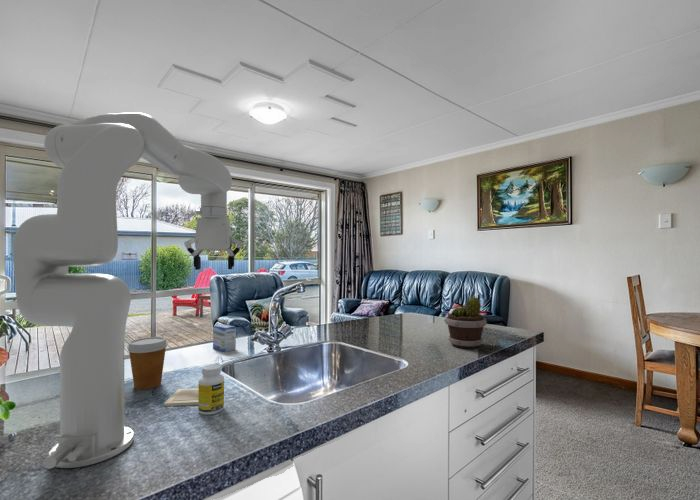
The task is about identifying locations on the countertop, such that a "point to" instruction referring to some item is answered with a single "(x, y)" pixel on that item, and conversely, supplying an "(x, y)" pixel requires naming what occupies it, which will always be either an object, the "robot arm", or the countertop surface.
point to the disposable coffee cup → (147, 361)
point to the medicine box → (224, 337)
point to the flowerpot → (466, 324)
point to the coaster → (183, 397)
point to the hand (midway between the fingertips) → (214, 269)
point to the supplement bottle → (211, 390)
